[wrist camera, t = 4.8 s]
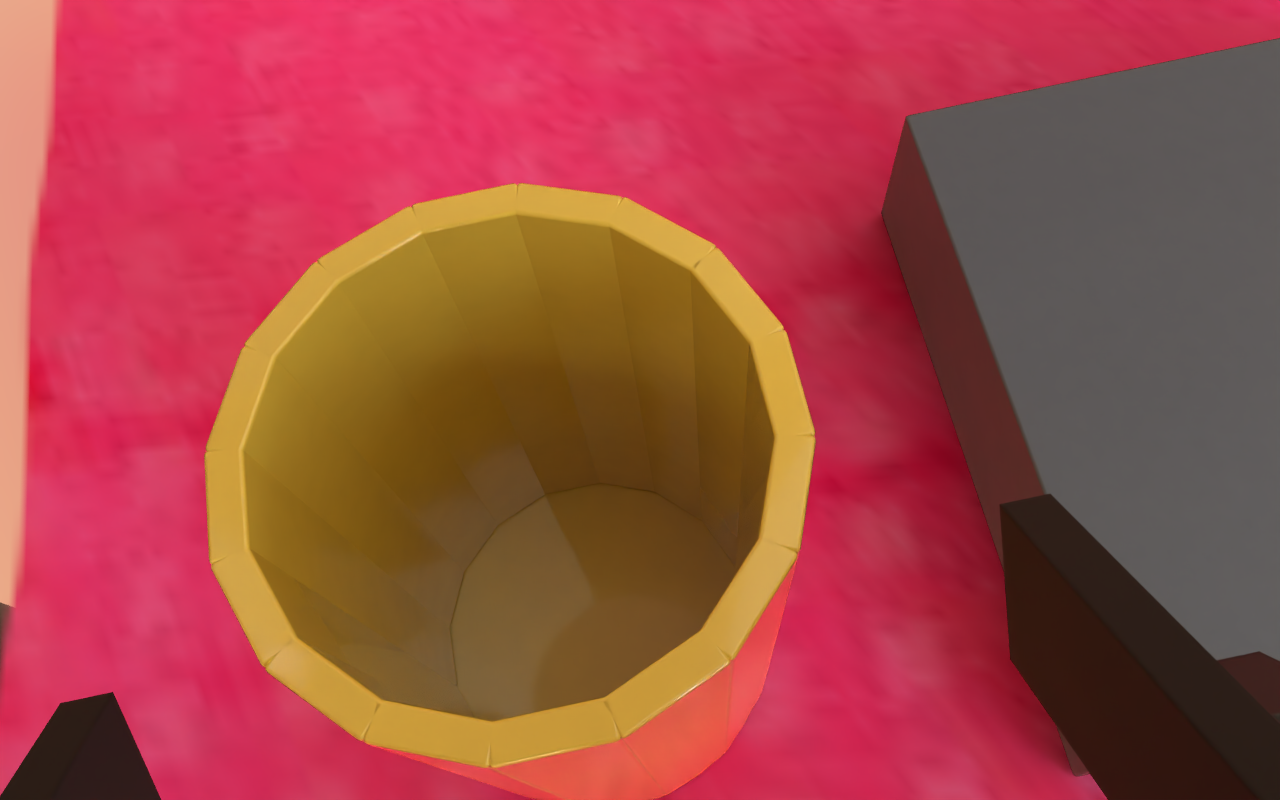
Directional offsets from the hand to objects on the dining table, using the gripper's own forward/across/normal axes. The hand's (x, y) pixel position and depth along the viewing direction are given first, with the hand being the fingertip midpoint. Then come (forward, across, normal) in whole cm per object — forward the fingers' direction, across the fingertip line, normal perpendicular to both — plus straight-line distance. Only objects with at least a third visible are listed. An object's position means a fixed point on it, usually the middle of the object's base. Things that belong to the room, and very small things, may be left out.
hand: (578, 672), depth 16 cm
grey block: (+9, +16, -3) cm, 18 cm away
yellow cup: (+7, 0, -4) cm, 8 cm away
